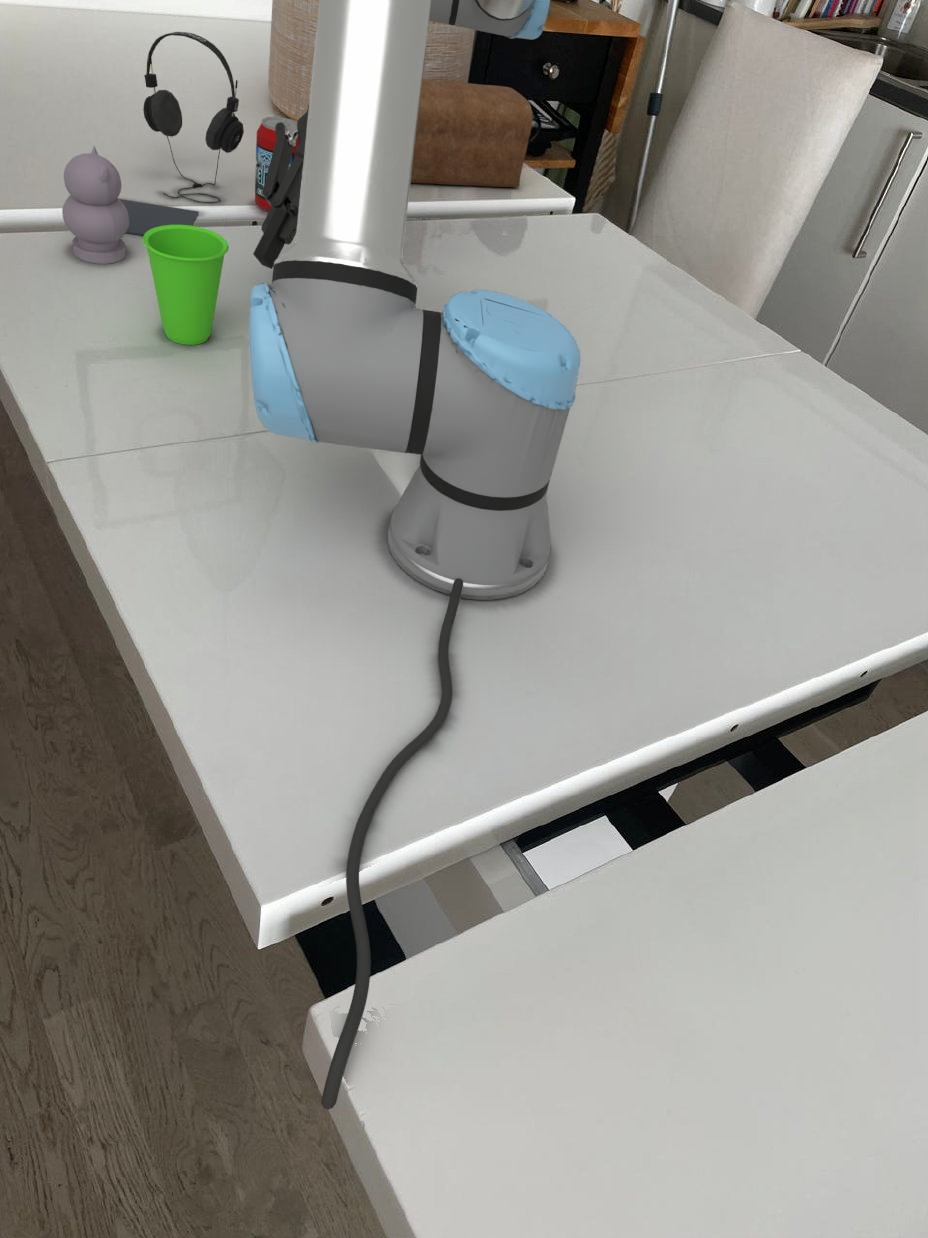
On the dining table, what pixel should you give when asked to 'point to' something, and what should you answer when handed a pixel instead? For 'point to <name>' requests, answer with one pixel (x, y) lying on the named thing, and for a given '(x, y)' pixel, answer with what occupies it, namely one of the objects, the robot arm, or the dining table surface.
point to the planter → (297, 44)
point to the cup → (186, 278)
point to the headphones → (168, 117)
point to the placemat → (155, 216)
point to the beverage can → (267, 154)
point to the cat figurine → (95, 209)
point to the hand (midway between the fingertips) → (262, 261)
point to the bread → (470, 134)
